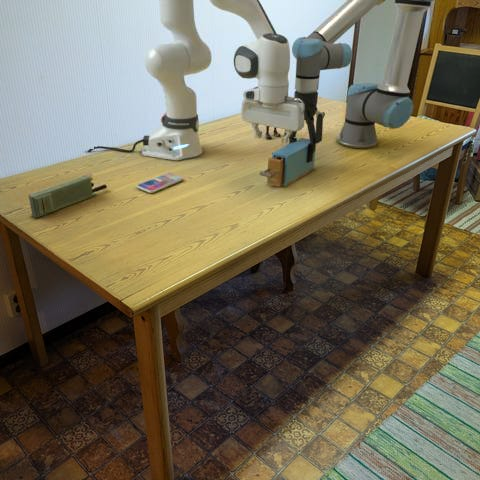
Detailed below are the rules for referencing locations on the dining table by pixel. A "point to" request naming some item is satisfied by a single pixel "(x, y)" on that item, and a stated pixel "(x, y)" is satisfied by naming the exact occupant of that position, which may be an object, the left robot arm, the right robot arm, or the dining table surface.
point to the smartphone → (159, 182)
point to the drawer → (275, 171)
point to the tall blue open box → (295, 160)
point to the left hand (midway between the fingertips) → (271, 140)
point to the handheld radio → (62, 195)
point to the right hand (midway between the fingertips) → (301, 159)
